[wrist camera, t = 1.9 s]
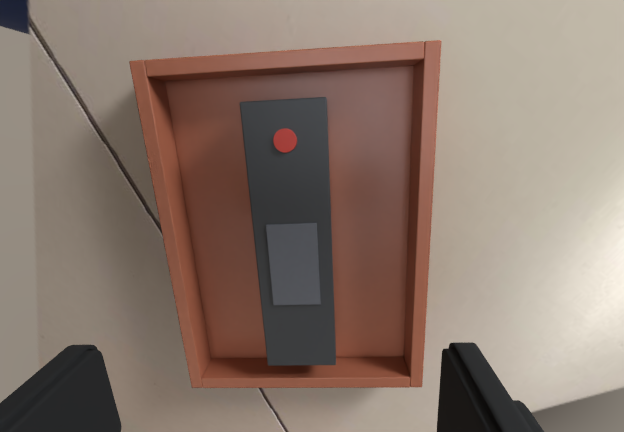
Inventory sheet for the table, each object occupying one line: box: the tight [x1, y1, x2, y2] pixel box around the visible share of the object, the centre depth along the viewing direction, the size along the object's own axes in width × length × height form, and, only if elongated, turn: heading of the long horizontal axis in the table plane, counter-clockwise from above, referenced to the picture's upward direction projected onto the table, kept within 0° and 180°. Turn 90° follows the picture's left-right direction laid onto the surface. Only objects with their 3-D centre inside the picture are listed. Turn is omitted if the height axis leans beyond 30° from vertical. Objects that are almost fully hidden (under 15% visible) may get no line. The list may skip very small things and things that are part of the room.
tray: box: [129, 40, 441, 388], centre depth 20 cm, size 16×21×3 cm
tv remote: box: [240, 97, 336, 366], centre depth 19 cm, size 4×16×3 cm, turn 3°
